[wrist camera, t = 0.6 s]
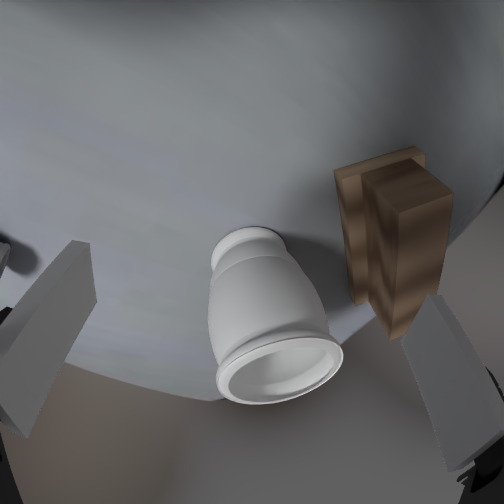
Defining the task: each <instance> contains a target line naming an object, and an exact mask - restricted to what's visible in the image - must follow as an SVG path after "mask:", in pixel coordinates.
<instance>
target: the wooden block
mask: <svg viewBox="0 0 504 504" xmlns="http://www.w3.org/2000/svg"><path fill="white" fill-rule="evenodd" d="M334 175H335V181H336V187H337V194H338V200H339V207H340V213H341V221H342V228H343V235H344V243H345V252H346V260H347V270H348V279H349V290H350V297H351V298H352V300H353V302H354V304H355V306H357V305H359V304H362V303H364V302H367V301H369V303H370V304H371V306H372V308H373V310H374V312H375V314H376V315H377V317H378V319H379V321H380V323H381V325H382V326H383V328H384V330H385V332H386V334H387V336H388V338H389V339H390V340H392V339H395V338H397V337H399V336H401V335H404V334H406V332H407V331H408V329H409V327H410V326H411V324H412V322H413V320H414V319H415V317H416V315H417V313H418V311H419V310H420V308H421V306H422V304H423V302H424V300H425V298H426V297H427V295H428V294H434V295H436V294H437V290H438V286H439V281H440V277H441V272H442V267H443V262H444V257H445V251H446V246H447V240H448V234H449V227H450V220H451V213H452V205H453V196H454V193H453V192H452V191H451V190H450V189H449V188H448V187H446V186H445V185H444V184H443V183H442V182H440V181H439V180H438V179H437V178H436V177H434V176H433V175H432V174H431V173H429V172H428V171H427V170H426V153H424V152H423V151H421V150H420V149H418V148H417V147H416V146H413V147H410V148H406V149H403V150H399V151H396V152H392V153H389V154H385V155H382V156H379V157H375V158H372V159H369V160H365V161H362V162H359V163H356V164H352V165H349V166H346V167H343V168H340V169H337V170H334Z"/></svg>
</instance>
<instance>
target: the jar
mask: <svg viewBox="0 0 504 504" xmlns="http://www.w3.org/2000/svg"><path fill="white" fill-rule="evenodd" d="M211 267H212V270H213V275H212V278H211V284H210V296H209V305H208V327H209V334H210V340H211V344H212V348H213V351H214V354H215V357H216V360H217V362H218V365H219V368H218V370H217V373H216V383H217V387H218V390H219V392H220V393H221V394H222V395H223V396H224V397H226V398H227V399H229V400H232V401H235V402H238V403H244V404H268V403H275V402H280V401H284V400H288V399H292V398H295V397H298V396H300V395H303V394H305V393H307V392H309V391H311V390H313V389H315V388H317V387H319V386H320V385H322V384H323V383H325V382H326V381H327V380H328V379H330V378H331V377H332V376H333V375H334V374H335V373H336V371H337V370H338V369H339V367H340V366H341V363H342V361H343V352H342V349H341V347H340V345H339V343H338V342H337V340H336V339H335V338H334V337H332V336H331V335H330V333H329V326H328V321H327V317H326V314H325V310H324V307H323V305H322V302H321V300H320V297H319V295H318V293H317V291H316V289H315V288H314V286H313V284H312V283H311V281H310V280H309V278H308V277H307V276H306V274H305V273H304V272H303V271H302V269H301V267H300V266H299V264H298V263H297V262H296V260H295V259H294V258H293V257H292V256H291V255H290V254H289V253H288V252H287V251H286V246H285V244H284V242H283V240H282V239H281V237H280V236H279V235H277V234H276V233H275V232H273V231H271V230H269V229H266V228H261V227H247V228H242V229H239V230H236V231H234V232H232V233H230V234H228V235H227V236H225V237H224V238H223V239H222V240H221V241H220V242H219V243H218V244H217V246H216V247H215V249H214V251H213V254H212V257H211Z"/></svg>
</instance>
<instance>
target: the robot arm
mask: <svg viewBox="0 0 504 504" xmlns="http://www.w3.org/2000/svg"><path fill="white" fill-rule="evenodd" d="M96 303H97V299H96V292H95V285H94V278H93V270H92V262H91V253H90V243H86V242H80V241H74V240H72V241H71V242H70V243H69V244H68V245H67V246H66V247H65V248H64V250H63V251H62V252H61V253H60V254H59V255H58V256H57V257H56V258H55V259H54V261H53V262H52V263H51V264H50V265H49V266H48V267H47V268H46V270H45V271H44V272H43V273H42V274H41V275H40V277H39V278H38V279H37V280H36V281H35V282H34V284H33V285H32V286H31V287H30V288H29V290H28V291H27V292H26V293H25V295H24V296H23V297H22V298H21V299H20V301H19V302H18V303H17V305H16V306H15V307H14V308H10V307H6V308H4V309H3V310H1V311H0V421H1V422H2V423H3V424H4V425H5V426H6V428H7V429H8V430H10V431H12V432H14V433H16V434H18V435H20V436H22V437H24V438H26V439H28V437H29V435H30V432H31V430H32V427H33V425H34V423H35V421H36V418H37V416H38V414H39V412H40V409H41V407H42V405H43V403H44V401H45V399H46V396H47V394H48V392H49V390H50V388H51V386H52V384H53V382H54V380H55V378H56V375H57V374H58V372H59V370H60V368H61V366H62V364H63V362H64V360H65V358H66V356H67V354H68V353H69V351H70V349H71V347H72V345H73V343H74V341H75V340H76V338H77V336H78V334H79V332H80V331H81V329H82V327H83V325H84V323H85V322H86V320H87V318H88V316H89V315H90V313H91V311H92V310H93V308H94V306H95V304H96ZM401 345H402V347H403V349H404V352H405V354H406V357H407V359H408V361H409V364H410V366H411V369H412V371H413V374H414V376H415V379H416V381H417V384H418V386H419V389H420V392H421V394H422V397H423V400H424V402H425V405H426V408H427V411H428V413H429V416H430V419H431V421H432V425H433V427H434V430H435V433H436V436H437V439H438V442H439V445H440V449H441V452H442V455H443V458H444V462H445V465H446V468H447V472H448V473H449V472H452V471H455V470H458V469H462V468H464V467H465V466H466V465H468V464H469V463H470V462H472V461H473V460H474V462H475V465H474V466H473V467H472V468H470V469H469V470H467V471H466V472H465V473H463V474H462V475H460V476H459V477H458V479H457V482H459V481H461V480H462V479H463V478H465V477H467V476H468V478H467V479H465V480H464V481H463V482H462V484H463V485H465V487H464V490H463V493H462V496H461V498H460V501H459V503H458V504H504V396H503V393H502V391H501V389H500V388H498V386H499V385H498V383H497V381H496V379H495V378H494V376H493V374H492V373H491V372H490V371H489V370H488V369H487V368H486V367H485V366H484V364H483V362H482V360H481V358H480V357H479V355H478V354H477V352H476V350H475V348H474V346H473V345H472V343H471V342H470V340H469V338H468V336H467V335H466V333H465V331H464V330H463V328H462V326H461V325H460V323H459V322H458V320H457V319H456V317H455V315H454V314H453V312H452V311H451V309H450V308H449V306H448V305H447V303H446V302H445V300H444V299H443V297H442V296H441V295H434V294H428V295H427V297H426V298H425V300H424V302H423V304H422V306H421V308H420V310H419V311H418V313H417V315H416V317H415V319H414V320H413V322H412V324H411V326H410V327H409V329H408V331H407V332H406V334H405V336H404V337H403V339H402V341H401ZM0 504H23V502H22V499H21V497H20V494H19V491H18V489H17V486H16V483H15V480H14V477H13V474H12V471H11V469H10V465H9V462H8V459H7V455H6V452H5V448H4V444H3V441H2V437H1V433H0Z"/></svg>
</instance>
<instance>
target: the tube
mask: <svg viewBox="0 0 504 504" xmlns="http://www.w3.org/2000/svg"><path fill="white" fill-rule="evenodd" d="M10 250H11V247H10V245H9V244H7V243H6V244H3V243H1V242H0V278H1V276H2V273H3V271H4V268H5V266H6V263H7V261H8V257H9V253H10Z"/></svg>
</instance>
